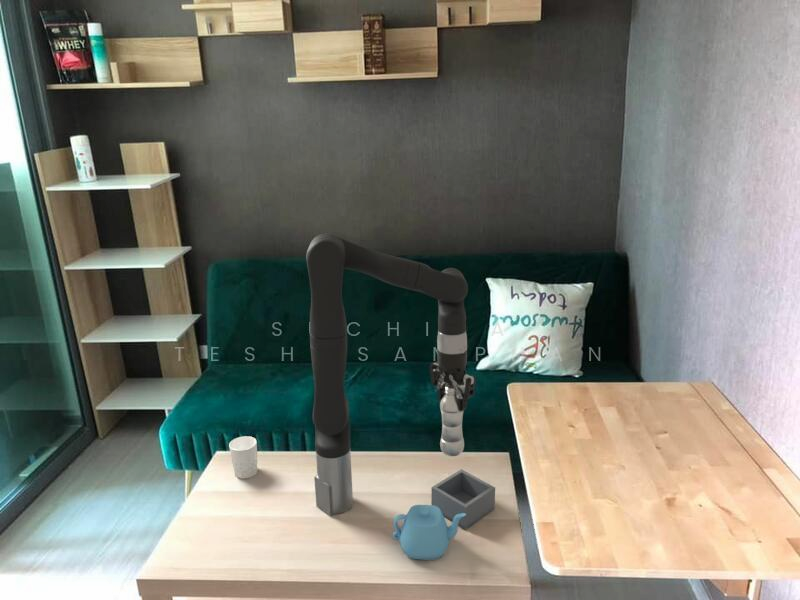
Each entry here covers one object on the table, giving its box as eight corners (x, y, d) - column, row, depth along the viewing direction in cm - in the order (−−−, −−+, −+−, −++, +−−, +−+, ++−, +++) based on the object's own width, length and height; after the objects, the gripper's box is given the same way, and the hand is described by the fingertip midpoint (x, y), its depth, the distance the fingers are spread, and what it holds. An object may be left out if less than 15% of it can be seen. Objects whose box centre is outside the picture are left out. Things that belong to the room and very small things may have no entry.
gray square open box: (465, 530, 163) (465, 507, 160) (431, 509, 171) (431, 487, 169) (494, 509, 170) (495, 487, 168) (461, 490, 179) (461, 469, 176)
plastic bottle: (466, 447, 172) (467, 381, 166) (461, 461, 166) (461, 393, 160) (443, 444, 174) (443, 378, 168) (437, 457, 168) (436, 389, 162)
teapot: (466, 528, 147) (389, 525, 149) (465, 566, 151) (390, 562, 152) (465, 495, 159) (394, 492, 161) (465, 531, 162) (395, 527, 164)
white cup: (238, 464, 193) (235, 435, 190) (263, 465, 192) (260, 436, 189) (228, 479, 186) (224, 449, 183) (254, 481, 185) (250, 451, 182)
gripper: (421, 343, 163) (422, 402, 168) (464, 359, 153) (463, 420, 158) (441, 335, 168) (441, 392, 173) (483, 350, 158) (482, 409, 163)
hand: (452, 405), depth 166 cm, fingers closed on plastic bottle, 6 cm apart
